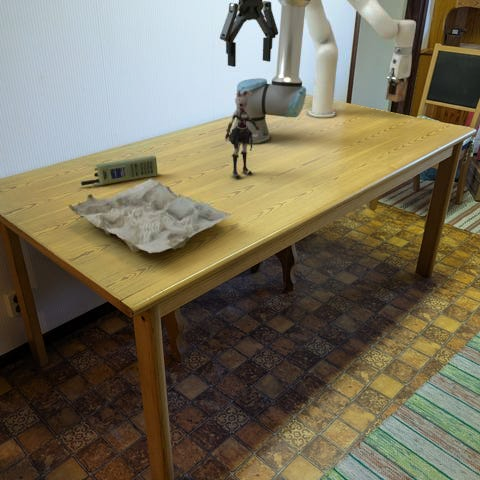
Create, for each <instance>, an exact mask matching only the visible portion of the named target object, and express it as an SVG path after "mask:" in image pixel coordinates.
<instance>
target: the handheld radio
mask: <svg viewBox="0 0 480 480" xmlns="http://www.w3.org/2000/svg"><path fill="white" fill-rule="evenodd" d="M157 164H158V163H157V156H156V155H147V156H141V157H140V156H139V157H134V158H127V159H121V160H115V161H108V162H101V163H96V164H93V167H94V168H93V171H97V172H95V173H94V174H93V175H94V177H96V179H90V180H83V181H82V180H81V181H80V185H81V186H88V185H93V184H94V185H96V186H97V187H98V186H99V187H100V186H105V185H109V184H115V183H121V182H128V181H134V180H139V179H144V178H151V177H156V176H158V175H159V174H158V165H157Z"/></svg>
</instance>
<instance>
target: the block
mask: <svg viewBox="0 0 480 480" xmlns="http://www.w3.org/2000/svg"><path fill="white" fill-rule="evenodd" d="M393 81H394V79H393ZM395 85H396V90H395V94H394V95H393V94H389V93H388V91H389V82H387V87H386V93H385V94H386V95H385V100H387V101H392V102H395V103H398V102H403V101H405V99H406V93H407V87H408V81H407V80H406V81H402V80H399V79H397V82H396V84H395Z"/></svg>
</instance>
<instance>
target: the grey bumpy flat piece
mask: <svg viewBox="0 0 480 480" xmlns="http://www.w3.org/2000/svg"><path fill="white" fill-rule="evenodd" d="M68 208H69V209H70V210H71V211H72V213H74V214H75V215H78V216H79V218H80V219H83V218H85V219H86V220H87V221H89V222H91V223H92V224H93V225H94V226H95V227H96V228H98V229H101V230H103V231H104V232H105V233H106V234H107V235H108V236H110V235H111V234H113V235H116V236H117V237H118V238H120V239H121V240H123V241H124V243H125V244H127V246H128V248H129V249H130V251H131V252H132V253H133V252H134V253H136V252H139V251H141V250H142V251H145V252H147V253H149V254H152V253H162V252H164V251H166V250H169V249H173V250H177V249H178V248H181V249H182V248H184V247H185V245H186V243H187V242H188V241H190V239H191V238H192V237H193V236H194V235H196V234H199V233H200V232H202V231H204V230H206V229H208V228H213V226H215V224H219V222H222V221H223V220H224V219H226V218H229V217H230V216H232V213H227V212H226V211H225V212H224V211H222V210H219V209H216V208H214V207H213V206H212V205H211V204H210V203H205V202H204V201H196V200H194V199H192V198H189V196H184V195H181V194H178V195H177V194H175V193H174V192H173V190H172V189H171V188H170V186H167V185H163V184H162V183H161V182H160V181H159V180H156V179H153V178H149V179H147V180H145V181H143V182H141V183H139V184H136V185H134V186H133V187H130V188H129V189H125V190H123V191H121V192H120V193H117V194H115V195H113V196H111V197H109V198H101V199H99V198H96V197H94V196H93V194H88V195H87V197H86V200H85V201H82V202H80V201H79V202H78V203H77V205H72V204H68Z"/></svg>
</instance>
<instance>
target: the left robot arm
mask: <svg viewBox="0 0 480 480" xmlns="http://www.w3.org/2000/svg"><path fill="white" fill-rule="evenodd" d="M277 1H278V3H279V4H280V5H281V10H280V21H279V29H278V27H277V23H276V19H275V17H274V13H273V10H272V2H271V1H269V0H268V1H266V0H264V1H263V0H238V3H234V2H229V4H228V12H227V15H226V18H225V21H224V24H223V26H222V30H221V32H220V35H219V39H220V40H221V41H224V42H225V54H226V55H227V66H228V67H233V68H235V67H236V66H237V65H236V62H237V58H236V57H237V56H236V55H237V42H235V39H236V38H237V36H238V34H239V33H240V30H241V29H242V27H243V25H244V24H245V23H246V22H247V21H252V20H253V21H256V22H257V24H258V26H259V27H260V30H261V31H262V33H263V35H264V36H265V37H264V36H263V38H262V61H264V62H269V63H270V62H271V59H272V58H271V56H272V49H273V39H275V38H276V36H278V46H277V48H278V49H277V59H276V73H275V76H274V77H273V78H271V83H268V80H267V79H266V78H262V77H261V78H260V77H259V78H257V77H256V78H249V79H243V80H241V81H239V82H238V83H237V85H236V91H237V90H239V89H241V88H243V86H244V88H243V89H242V90H241V91H240V95H242V93H243V91H244V90H246V89H248V90H250V91H251V93H252V95H250V94H249V93H248V92H247V94H246V97H247V99H248V101H247V107H246V108H245V109H246V110H247V112H248V114H249V116H250V118H252V120H253V121H255V122H256V125H257V126H258V128H259V129H260V133H258V132H257V131H256V128H255V126H254V125H253V124H252V123H250V122H249V120H247V121H246V125H247V126H248V129H249V130H250V131H251V132H252V133H253V134H252V136H253V138H252V140H253V142H252V145H257V144H262V143H266V142H268V141H269V140H270V130H269V127H268V124H267V121H266V116H273V117H274V116H275V117H283V118H286V119H287V118H297V117H298V116H300V114H301V113H302V111H303V108H304V105H305V102H306V96H307V88H306V87H305V86H303V81H302V79H301V77H300V70H301V69H300V67H301V59H302V58H301V56H302V48H303V36H304V28H305V27H304V26H305V7H306V6H307V5H308V4H309V3H310V0H277ZM235 96H237V92H236V93H235ZM238 108H239V107H237V106H236V110H238ZM234 122H235V123H234V125H233V128H232V129H234V128H235V127H236V126H237V125H238V123H239V122H238V121H237V118H235V121H234ZM253 143H254V144H253ZM241 144H242V142H241ZM248 145H250V139H249V144H248Z"/></svg>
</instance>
